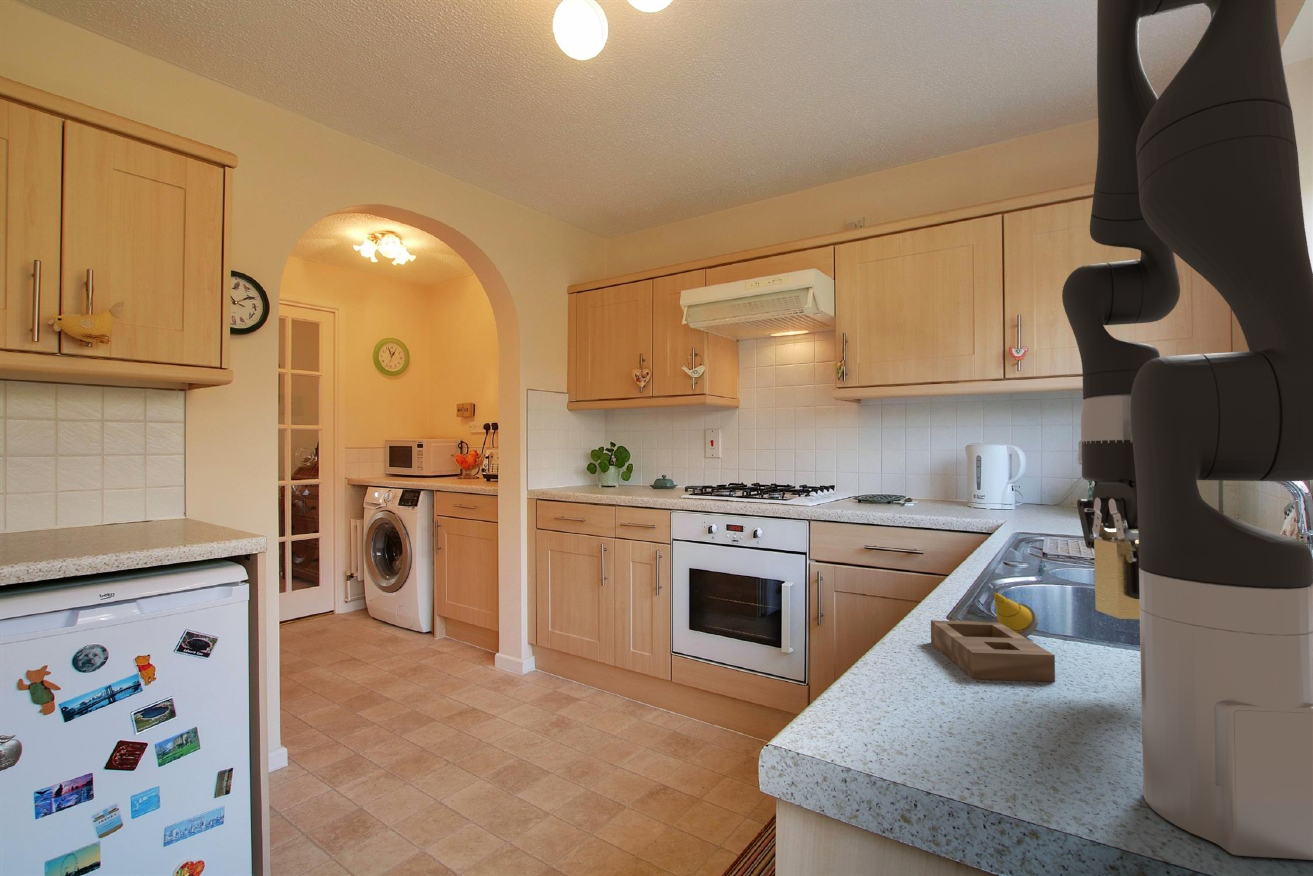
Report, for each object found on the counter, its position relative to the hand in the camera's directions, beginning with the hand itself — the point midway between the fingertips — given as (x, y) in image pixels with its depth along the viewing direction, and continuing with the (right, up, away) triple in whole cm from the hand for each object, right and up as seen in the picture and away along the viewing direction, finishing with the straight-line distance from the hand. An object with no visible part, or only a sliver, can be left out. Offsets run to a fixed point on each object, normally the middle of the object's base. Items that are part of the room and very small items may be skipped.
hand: (1125, 593), depth 68 cm
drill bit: (-1, -11, +19) cm, 22 cm away
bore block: (-10, -11, +10) cm, 18 cm away
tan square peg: (0, -2, 0) cm, 2 cm away
